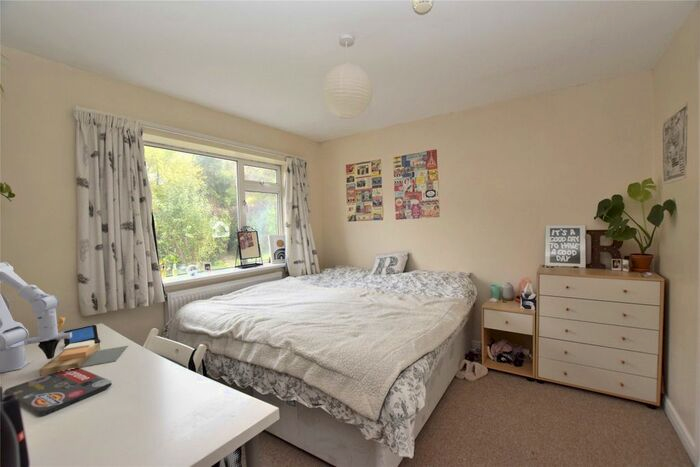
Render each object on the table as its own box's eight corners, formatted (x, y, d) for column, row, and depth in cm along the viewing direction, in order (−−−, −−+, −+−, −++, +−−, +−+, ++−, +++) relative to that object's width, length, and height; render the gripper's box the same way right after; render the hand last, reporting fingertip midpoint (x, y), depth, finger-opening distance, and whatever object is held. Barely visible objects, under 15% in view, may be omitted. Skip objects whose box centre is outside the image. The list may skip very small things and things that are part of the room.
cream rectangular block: (63, 353, 133) (63, 348, 133) (70, 348, 138) (69, 343, 138) (89, 349, 136) (88, 344, 136) (94, 344, 142) (94, 340, 141)
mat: (79, 367, 124) (79, 367, 124) (96, 351, 139) (96, 350, 139) (115, 361, 128) (115, 360, 128) (127, 346, 144) (127, 345, 144)
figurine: (49, 341, 156) (47, 318, 155) (65, 337, 161) (62, 314, 160) (53, 344, 151) (51, 320, 150) (69, 340, 156) (67, 316, 155)
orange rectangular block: (58, 361, 125) (58, 356, 125) (65, 355, 131) (65, 350, 131) (86, 356, 128) (85, 351, 128) (91, 350, 134) (91, 346, 134)
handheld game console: (66, 352, 141) (64, 336, 140) (64, 346, 148) (62, 331, 148) (100, 343, 150) (99, 328, 150) (97, 338, 157) (96, 324, 157)
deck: (39, 375, 118) (39, 369, 118) (67, 353, 139) (66, 348, 139) (78, 368, 123) (78, 362, 123) (99, 348, 143) (99, 342, 143)
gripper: (17, 332, 119) (21, 366, 120) (65, 325, 125) (68, 358, 125) (28, 326, 126) (32, 358, 127) (73, 320, 131) (76, 351, 132)
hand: (50, 358), depth 126 cm, fingers closed
